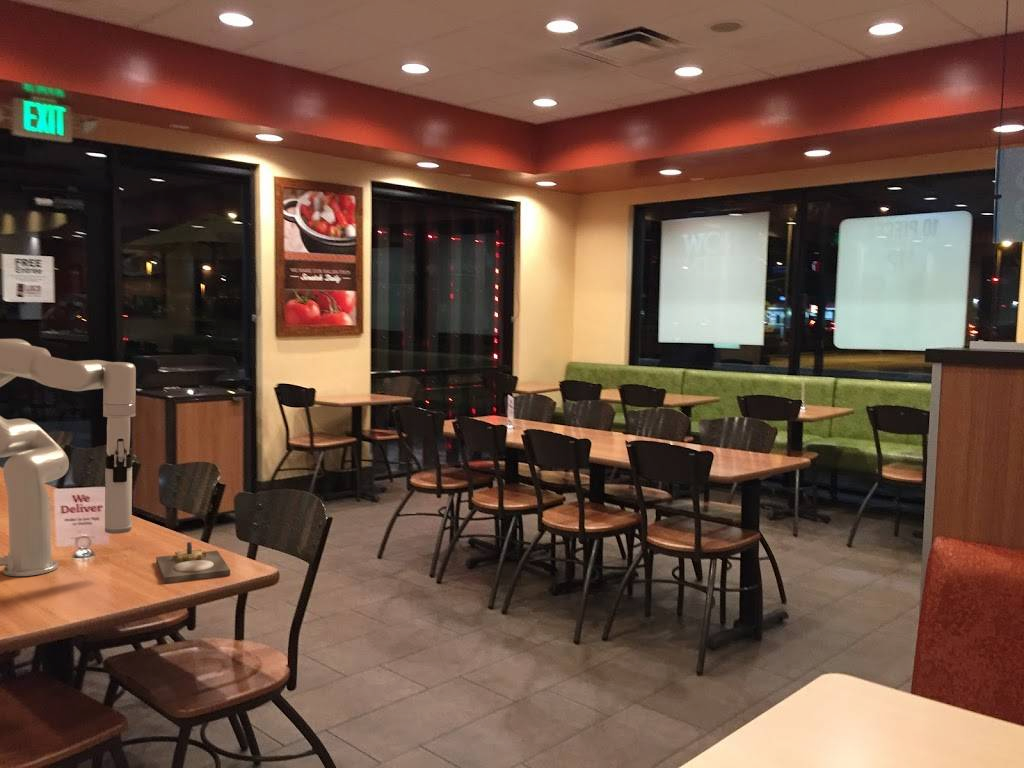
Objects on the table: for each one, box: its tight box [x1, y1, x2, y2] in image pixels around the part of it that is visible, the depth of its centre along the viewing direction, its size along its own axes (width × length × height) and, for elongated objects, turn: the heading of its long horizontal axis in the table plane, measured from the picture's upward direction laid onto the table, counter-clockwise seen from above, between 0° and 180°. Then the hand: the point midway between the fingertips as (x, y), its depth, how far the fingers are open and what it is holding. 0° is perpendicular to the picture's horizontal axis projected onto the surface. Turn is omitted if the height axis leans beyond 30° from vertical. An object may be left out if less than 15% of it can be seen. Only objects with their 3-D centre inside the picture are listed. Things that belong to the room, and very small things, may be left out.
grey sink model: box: [155, 541, 231, 584], centre depth 225 cm, size 16×20×6 cm
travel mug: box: [104, 453, 133, 535], centre depth 218 cm, size 6×7×20 cm
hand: (119, 478), depth 217 cm, fingers closed on travel mug, 6 cm apart
